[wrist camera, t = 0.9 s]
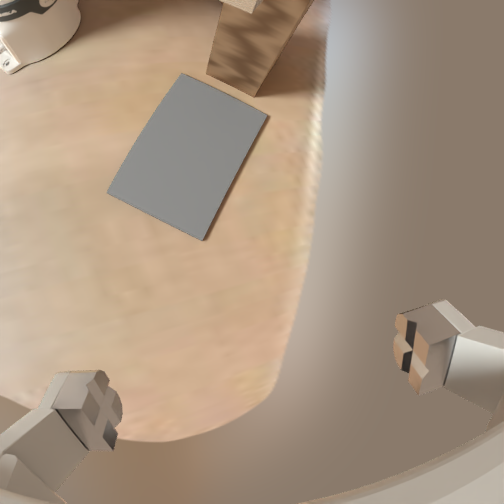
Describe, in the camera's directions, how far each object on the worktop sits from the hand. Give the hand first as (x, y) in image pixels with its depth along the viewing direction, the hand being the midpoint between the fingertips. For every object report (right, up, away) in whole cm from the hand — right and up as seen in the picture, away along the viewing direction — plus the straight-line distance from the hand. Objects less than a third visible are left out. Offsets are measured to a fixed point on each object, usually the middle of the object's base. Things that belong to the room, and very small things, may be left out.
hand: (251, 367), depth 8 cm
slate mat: (-8, +16, +33) cm, 38 cm away
